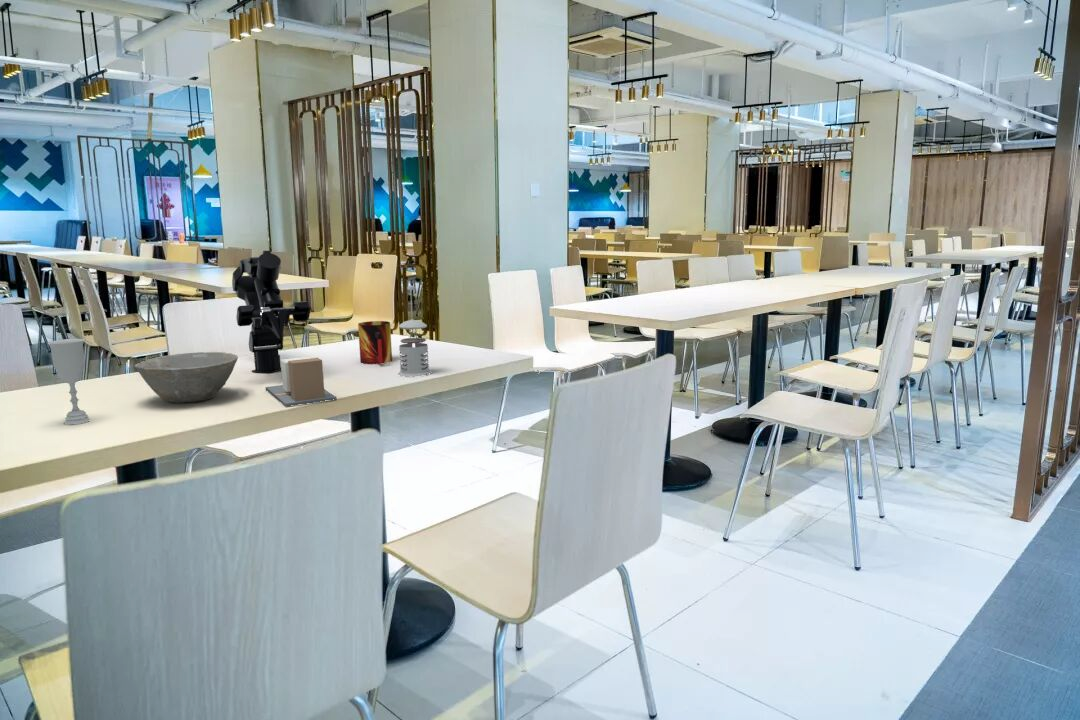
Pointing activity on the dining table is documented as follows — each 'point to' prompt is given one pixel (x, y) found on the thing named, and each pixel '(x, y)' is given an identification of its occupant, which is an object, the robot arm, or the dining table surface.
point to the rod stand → (303, 384)
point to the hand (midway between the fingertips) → (280, 337)
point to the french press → (413, 349)
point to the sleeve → (287, 372)
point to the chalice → (70, 372)
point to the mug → (375, 342)
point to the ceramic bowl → (187, 375)
